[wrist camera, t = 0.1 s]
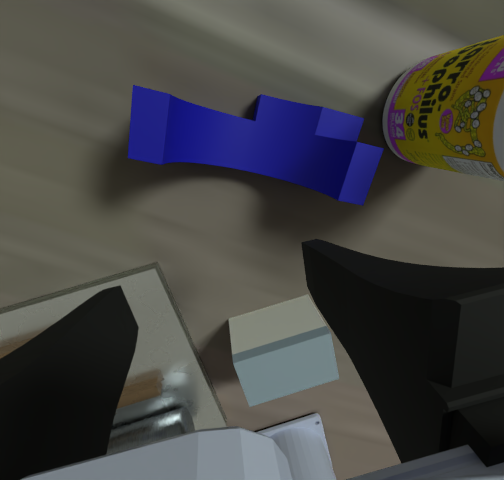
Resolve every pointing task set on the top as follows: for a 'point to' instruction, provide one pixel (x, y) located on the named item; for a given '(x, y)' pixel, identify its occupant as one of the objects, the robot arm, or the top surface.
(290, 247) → the top surface
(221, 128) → the cable clip
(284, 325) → the block
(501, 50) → the supplement bottle
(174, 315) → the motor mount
